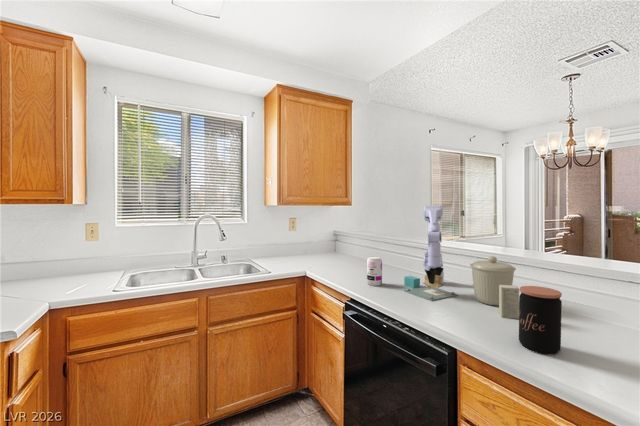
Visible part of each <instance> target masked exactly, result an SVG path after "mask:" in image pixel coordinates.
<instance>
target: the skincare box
mask: <svg viewBox="0 0 640 426" xmlns="http://www.w3.org/2000/svg"><path fill="white" fill-rule="evenodd" d="M519 296H520V287H518V286H517V285H514V284H512V285H499V306H498V314H499V316H500V317H501V318H506V319H516V320H519Z"/></svg>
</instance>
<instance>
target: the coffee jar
mask: <svg viewBox="0 0 640 426" xmlns="http://www.w3.org/2000/svg"><path fill="white" fill-rule="evenodd" d="M519 292H520V293H519V319H518V341H519V343H520V345H521V346H522V347H523V348H524V347H525V348H524V349H526V348H527V350H528V351H530V350H531V351H530V352H533V351H534V352H533V353H536V352H537V354H540V353H541V354H540V355H547V354H553V355H557V354H558V353H559V352H560V351H561V349H562V348H561V347H562V346H561V345H562V308H563V307H562V305H563V304H562V300H561V298H562V295H563V294H562V292H561V291H559V290H557V289H554V288H550V287H546V286H545V287H544V286H537V285H536V286H535V285H523V286H520V287H519Z"/></svg>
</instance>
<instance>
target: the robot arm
mask: <svg viewBox="0 0 640 426" xmlns="http://www.w3.org/2000/svg"><path fill="white" fill-rule="evenodd" d="M443 212H444V211H443V205H427V204H426V205H424V206H423V219H424V221H426V222H427V225H428V226H427V229H428V230H427V231H428V232H427V238H426V239H427V247H428V248H427V251H425V252H424V254H423V266H424V272H425V275H427V276H428V280H429V283H431V284H434V280H435V275H437V276H442V285H444V284H445V279H444V274H445V273H444V263H443V254H442V253H441V244H442V239H443V238H442V236H443V235H442V230H441V227H440V226H441V225H440V223H439V222H440V221H442V219H443ZM422 283H423V284H425V280H423V281H422Z"/></svg>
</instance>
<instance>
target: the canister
mask: <svg viewBox="0 0 640 426" xmlns="http://www.w3.org/2000/svg"><path fill="white" fill-rule="evenodd" d="M497 260H498V258H497V256H494V255H491V256H488V258H487V260H477V261H474V262H472V263H470V265H469V266H470V267H471V272H472V273H471V274H472V275H471V276H472V282H473V290H474V296H475V298H476V300H477V302H480V303H482V304H484V305H489V306H498V307H499V285H513V281H514V274H515V271H516V270H517V269H516V267H514V266H513V265H512V264H510V263H506V262H502V261H497Z"/></svg>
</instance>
